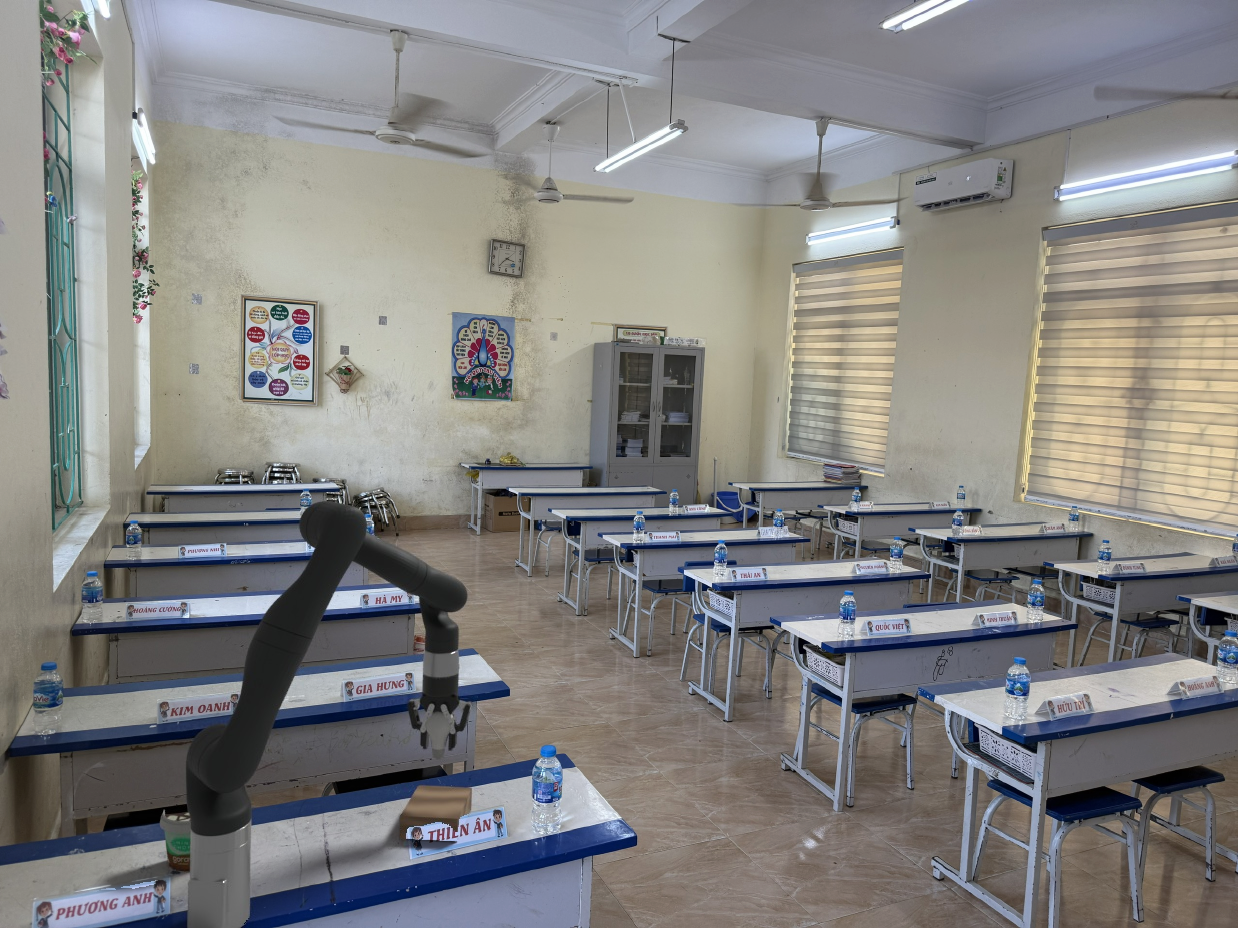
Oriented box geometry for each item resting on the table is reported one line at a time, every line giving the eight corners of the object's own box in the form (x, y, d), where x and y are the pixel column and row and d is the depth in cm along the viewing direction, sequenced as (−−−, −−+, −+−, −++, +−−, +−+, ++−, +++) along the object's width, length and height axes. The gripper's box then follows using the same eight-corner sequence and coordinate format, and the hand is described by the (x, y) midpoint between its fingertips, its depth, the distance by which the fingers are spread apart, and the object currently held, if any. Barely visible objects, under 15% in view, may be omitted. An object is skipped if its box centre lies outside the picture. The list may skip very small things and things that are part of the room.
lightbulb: (422, 754, 171) (424, 704, 170) (451, 752, 173) (453, 702, 172) (424, 766, 165) (426, 714, 165) (454, 763, 167) (456, 712, 166)
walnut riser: (457, 842, 162) (457, 818, 162) (399, 839, 163) (399, 815, 163) (471, 809, 176) (471, 787, 176) (418, 806, 177) (418, 785, 176)
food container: (150, 878, 146) (151, 825, 145) (160, 860, 152) (160, 809, 151) (223, 870, 149) (224, 819, 149) (230, 853, 155) (231, 803, 155)
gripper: (402, 673, 164) (400, 754, 165) (470, 677, 164) (468, 757, 165) (412, 663, 172) (410, 740, 173) (477, 666, 172) (475, 743, 172)
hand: (438, 748), depth 169 cm, fingers closed on lightbulb, 5 cm apart
